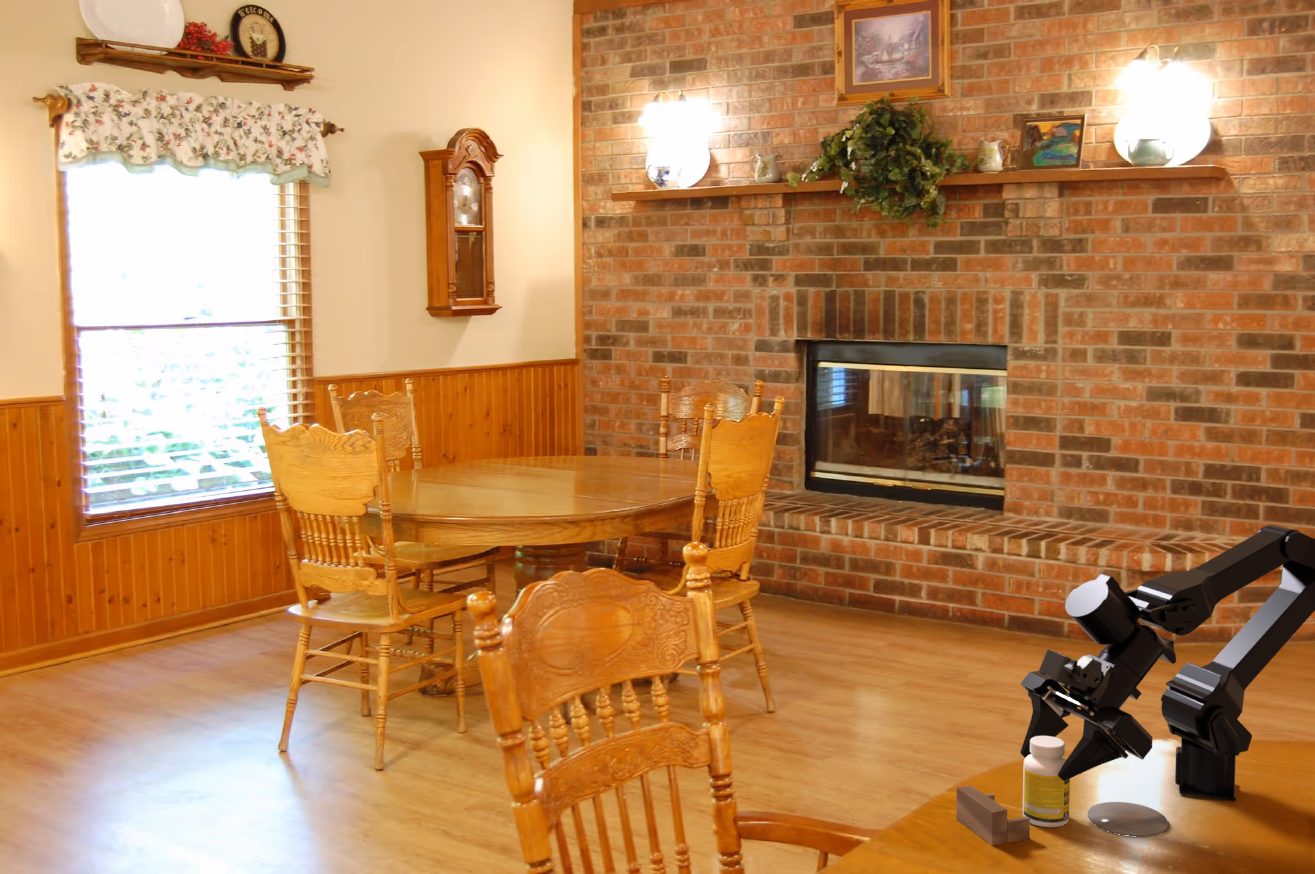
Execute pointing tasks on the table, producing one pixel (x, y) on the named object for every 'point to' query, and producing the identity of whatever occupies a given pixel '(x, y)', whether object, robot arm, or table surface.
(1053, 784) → the supplement bottle
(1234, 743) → the robot arm
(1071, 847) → the table surface
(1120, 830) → the slate coaster
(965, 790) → the bracket
